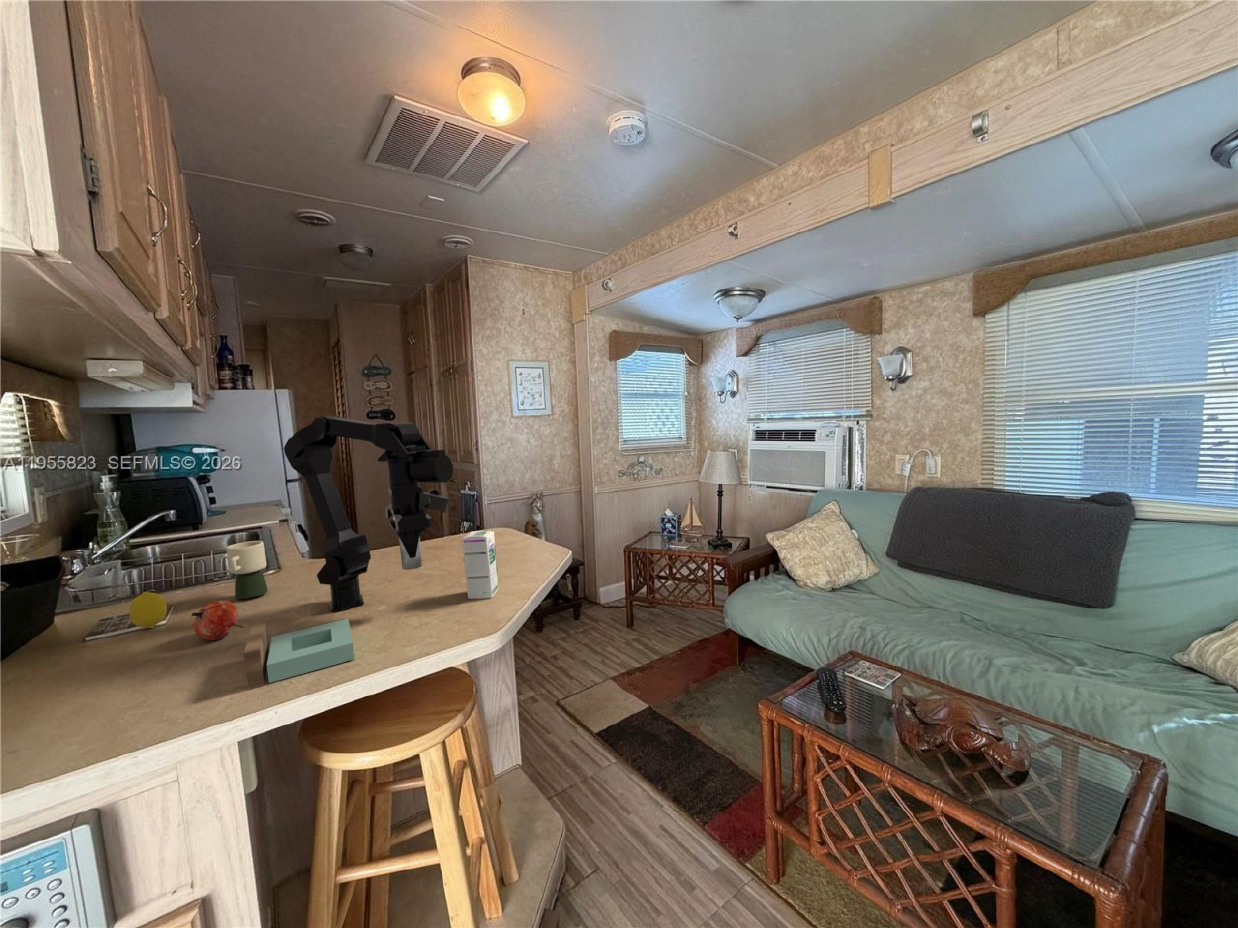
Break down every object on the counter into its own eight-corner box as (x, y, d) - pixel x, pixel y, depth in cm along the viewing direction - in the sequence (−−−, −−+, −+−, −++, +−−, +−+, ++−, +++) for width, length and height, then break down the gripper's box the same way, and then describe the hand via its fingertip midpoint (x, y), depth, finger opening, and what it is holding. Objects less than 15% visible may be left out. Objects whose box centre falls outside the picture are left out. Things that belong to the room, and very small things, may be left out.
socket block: (274, 652, 85) (272, 636, 85) (350, 633, 92) (348, 618, 92) (268, 682, 75) (266, 665, 75) (354, 659, 82) (352, 642, 81)
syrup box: (492, 598, 107) (488, 536, 105) (466, 599, 107) (461, 537, 106) (499, 589, 113) (495, 529, 111) (474, 589, 113) (470, 530, 111)
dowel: (400, 566, 101) (397, 529, 100) (420, 562, 103) (417, 526, 102) (403, 571, 98) (400, 533, 97) (424, 566, 100) (420, 530, 99)
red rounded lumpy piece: (226, 637, 98) (171, 625, 91) (250, 604, 100) (198, 589, 93) (238, 650, 94) (181, 639, 86) (262, 615, 96) (209, 601, 89)
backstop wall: (256, 658, 84) (252, 625, 83) (270, 654, 85) (266, 622, 84) (248, 689, 74) (243, 653, 73) (264, 685, 75) (259, 649, 74)
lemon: (175, 624, 100) (170, 588, 99) (142, 636, 95) (136, 598, 94) (159, 621, 102) (153, 585, 101) (125, 633, 97) (119, 595, 96)
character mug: (249, 589, 119) (243, 539, 118) (280, 587, 120) (274, 537, 119) (220, 607, 109) (212, 552, 107) (254, 604, 110) (247, 549, 108)
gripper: (455, 482, 95) (461, 557, 97) (434, 474, 111) (440, 539, 112) (394, 489, 89) (402, 569, 91) (382, 479, 105) (388, 548, 106)
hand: (410, 555), depth 100 cm, fingers closed on dowel, 4 cm apart
